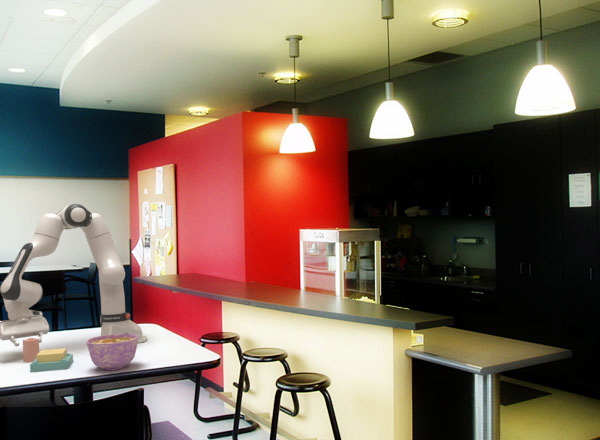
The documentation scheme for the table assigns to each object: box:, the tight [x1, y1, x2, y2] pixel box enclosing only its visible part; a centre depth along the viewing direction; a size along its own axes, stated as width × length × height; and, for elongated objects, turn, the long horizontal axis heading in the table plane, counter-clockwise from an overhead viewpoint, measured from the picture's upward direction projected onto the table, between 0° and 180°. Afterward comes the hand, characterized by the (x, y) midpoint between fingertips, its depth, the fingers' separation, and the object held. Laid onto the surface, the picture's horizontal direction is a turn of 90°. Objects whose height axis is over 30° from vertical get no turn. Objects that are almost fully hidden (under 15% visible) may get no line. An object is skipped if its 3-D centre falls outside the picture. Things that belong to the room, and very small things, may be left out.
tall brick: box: [22, 337, 40, 363], centre depth 256 cm, size 5×5×10 cm
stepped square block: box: [29, 348, 74, 373], centre depth 244 cm, size 14×14×6 cm
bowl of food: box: [86, 334, 139, 371], centre depth 238 cm, size 20×20×12 cm
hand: (28, 343), depth 258 cm, fingers open, 8 cm apart
